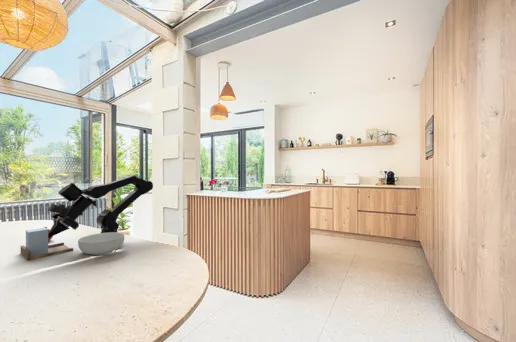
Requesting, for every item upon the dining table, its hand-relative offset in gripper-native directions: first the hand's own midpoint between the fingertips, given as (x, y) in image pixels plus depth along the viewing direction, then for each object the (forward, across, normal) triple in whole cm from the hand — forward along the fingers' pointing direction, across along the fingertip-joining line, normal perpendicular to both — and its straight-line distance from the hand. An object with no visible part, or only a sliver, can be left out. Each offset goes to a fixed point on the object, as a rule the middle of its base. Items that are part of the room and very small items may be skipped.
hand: (47, 237), depth 103 cm
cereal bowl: (-5, +16, +16) cm, 23 cm away
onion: (+3, -20, +8) cm, 21 cm away
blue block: (+7, 0, +2) cm, 7 cm away
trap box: (+5, 0, +5) cm, 7 cm away
